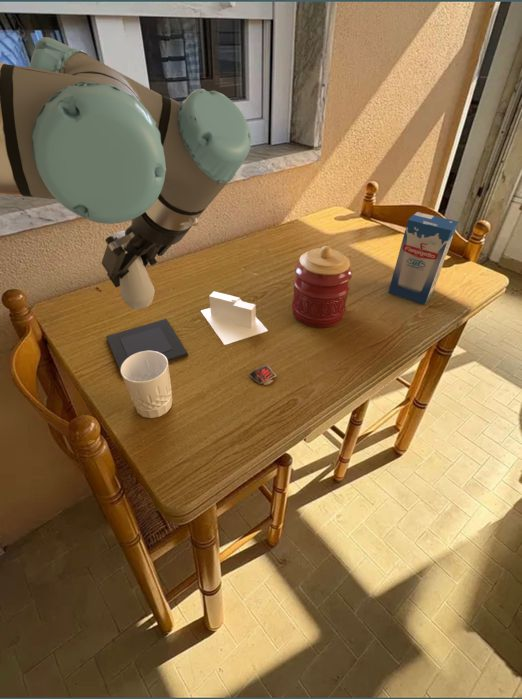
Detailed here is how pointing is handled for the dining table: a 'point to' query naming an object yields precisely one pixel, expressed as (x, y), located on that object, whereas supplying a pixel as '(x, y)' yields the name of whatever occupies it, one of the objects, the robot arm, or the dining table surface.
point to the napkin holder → (232, 318)
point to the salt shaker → (136, 284)
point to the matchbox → (263, 375)
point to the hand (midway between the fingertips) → (122, 276)
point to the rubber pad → (146, 342)
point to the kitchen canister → (321, 287)
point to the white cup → (148, 383)
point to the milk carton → (421, 256)
